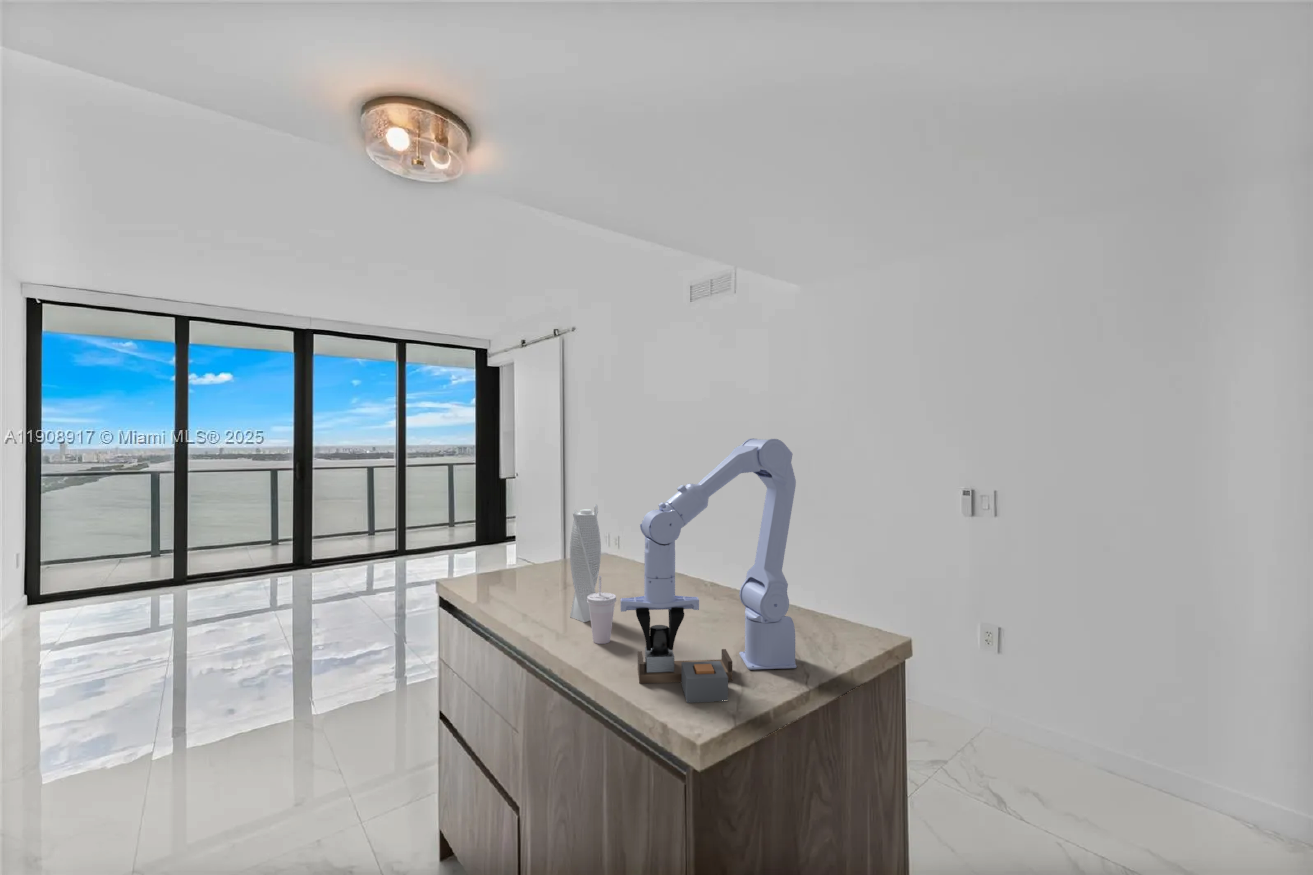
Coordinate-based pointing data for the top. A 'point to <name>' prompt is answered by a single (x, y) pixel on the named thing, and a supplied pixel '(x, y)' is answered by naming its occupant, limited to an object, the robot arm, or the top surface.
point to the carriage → (659, 651)
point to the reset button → (703, 669)
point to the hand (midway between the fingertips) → (659, 648)
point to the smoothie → (601, 615)
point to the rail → (677, 670)
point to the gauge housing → (704, 683)
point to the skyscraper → (584, 560)
